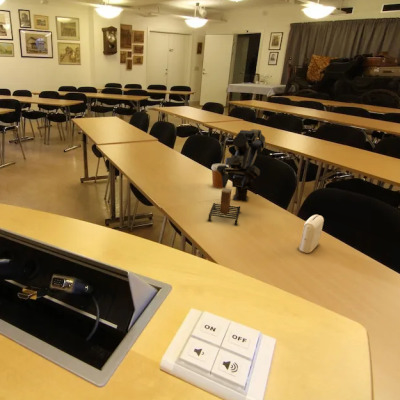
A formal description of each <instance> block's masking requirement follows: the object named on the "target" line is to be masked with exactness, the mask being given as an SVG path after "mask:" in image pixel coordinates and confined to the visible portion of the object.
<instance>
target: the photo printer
mask: <svg viewBox="0 0 400 400" xmlns="http://www.w3.org/2000/svg"><path fill="white" fill-rule="evenodd" d="M324 222H325V218H324V217H323V216H322V215H319V214H313V215H311V216H310V217H309V218H308V219H307V220H305V222H304V225H303V228H302V232H301V238H300V242H299V245H298V249H299V251H300V252H302V253H306V254H308V253H311V252H313V251H314V250H315V248H316V247H317V246H318V245H319V242H320V239H321V235H322V230H323V226H324Z"/></svg>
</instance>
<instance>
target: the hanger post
mask: <svg viewBox="0 0 400 400" xmlns="http://www.w3.org/2000/svg"><path fill="white" fill-rule="evenodd" d="M232 190H233V189H232V188H227V187H225V188H222V189H221V191H220V192H221V194H220V204H221V205H220V207H219V208H220V209H219V210H220V214H227V215H229V214H228V213H230V212H229V209H230V208H231V207H230V206H231V200H232V199H231V198H232Z"/></svg>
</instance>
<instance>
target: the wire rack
mask: <svg viewBox="0 0 400 400" xmlns="http://www.w3.org/2000/svg"><path fill="white" fill-rule="evenodd" d="M220 205H221V203H216V202H213V203H212V206H211V208H210V210H209V213H208V218H207V222H211V221H212V217H219V218H224V219H225V218H226V219H233V220H234V226H238V222H239V221H238V220H239V215H240V213H241V206H240V205H238V206H236V205H235V206H234V205H230V209H229V212H228V214H223V213H220Z"/></svg>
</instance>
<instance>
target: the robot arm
mask: <svg viewBox="0 0 400 400" xmlns="http://www.w3.org/2000/svg"><path fill="white" fill-rule="evenodd" d="M232 144H233V147H234V150H235V154H234V155H232V157H225V163H224V164H225V165H219V166H218V167H217V170H216V171H218V172H219V173H220V174H221V176H222V183H223V188H222V189H224V188H226V187H227V185H228V182H229V179H230V174H231V173H234V174H233V176H232V180H231V182H232V183H231V187H232V188H235V189H234V190H235V191H234V195H233V201H241V202H248V198H249V196H248V192H249V190H252V189H253V180H254V179H255V178H257V177H260V175H261V170H260V169H259V168H258V167H257V166H256V165H254V164H255V160H256V158H257V155H259V154H261V153H262V152H263V150H264V149H265V147H266V136H264V135H263V134H262V130H261V129H253V128H252V129H250V130H249V129H248V130H245V129H240V131H238V132H237V134H236V136H235V137H234V138H233V139H232ZM226 165H228V166H229V168H228V167H227V166H226Z"/></svg>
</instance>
